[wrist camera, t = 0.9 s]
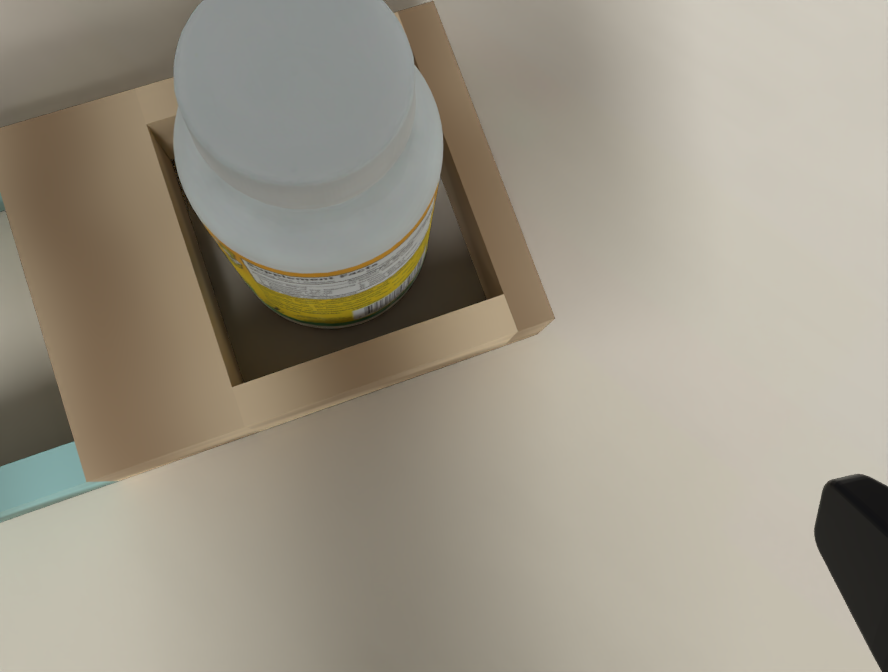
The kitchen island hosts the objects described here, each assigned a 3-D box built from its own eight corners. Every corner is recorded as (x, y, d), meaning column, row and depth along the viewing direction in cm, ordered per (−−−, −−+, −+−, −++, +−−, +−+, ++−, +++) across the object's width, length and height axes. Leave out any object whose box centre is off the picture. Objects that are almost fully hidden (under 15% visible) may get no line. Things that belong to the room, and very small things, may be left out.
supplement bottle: (417, 341, 23) (441, 247, 13) (221, 321, 22) (103, 211, 13) (435, 155, 24) (469, -55, 14) (246, 134, 23) (153, -96, 14)
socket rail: (428, 46, 24) (433, 0, 22) (537, 334, 23) (555, 318, 21) (-280, 259, 22) (-362, 233, 19) (-198, 592, 21) (-274, 607, 18)
